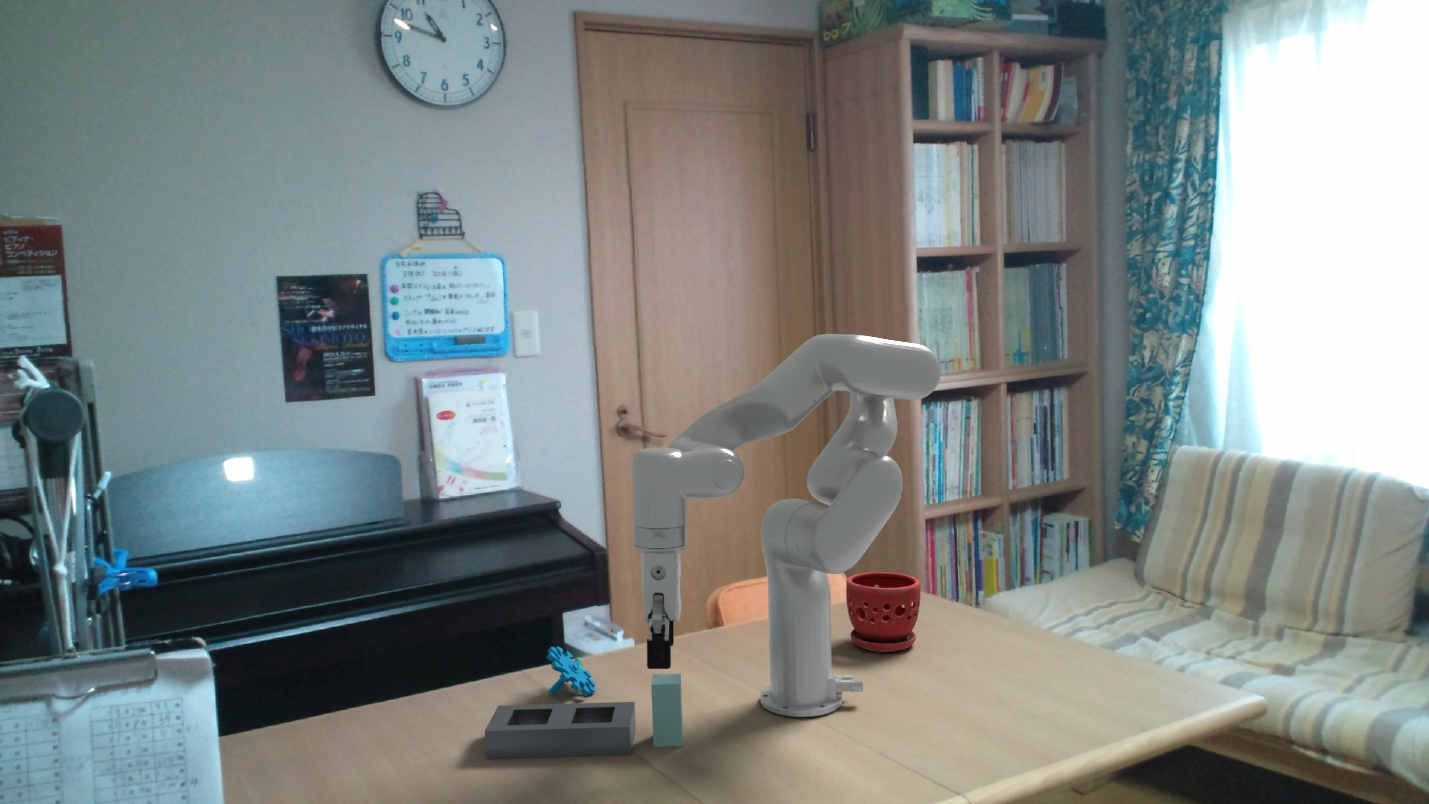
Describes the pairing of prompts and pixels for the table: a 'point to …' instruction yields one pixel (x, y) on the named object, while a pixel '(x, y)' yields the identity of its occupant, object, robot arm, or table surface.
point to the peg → (667, 710)
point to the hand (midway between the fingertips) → (660, 656)
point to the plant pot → (883, 610)
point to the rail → (561, 730)
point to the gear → (570, 672)
